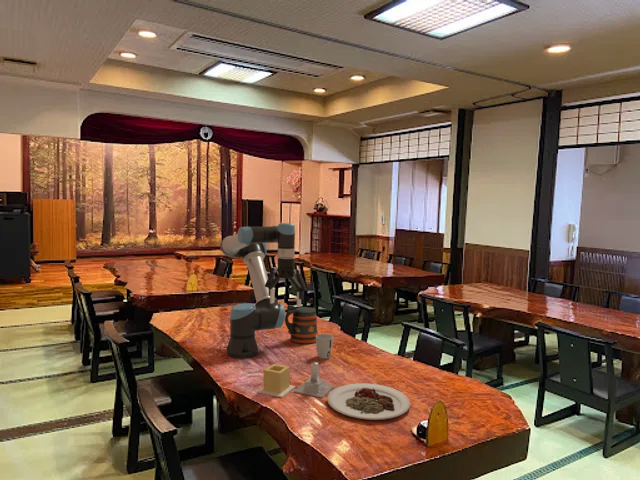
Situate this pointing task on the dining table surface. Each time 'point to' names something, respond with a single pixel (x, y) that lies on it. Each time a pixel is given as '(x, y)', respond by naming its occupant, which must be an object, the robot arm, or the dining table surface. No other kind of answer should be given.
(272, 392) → the felt mat
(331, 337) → the cup
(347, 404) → the plated food
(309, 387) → the post stand
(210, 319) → the dining table surface
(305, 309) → the beer stein
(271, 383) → the yellow square planter
